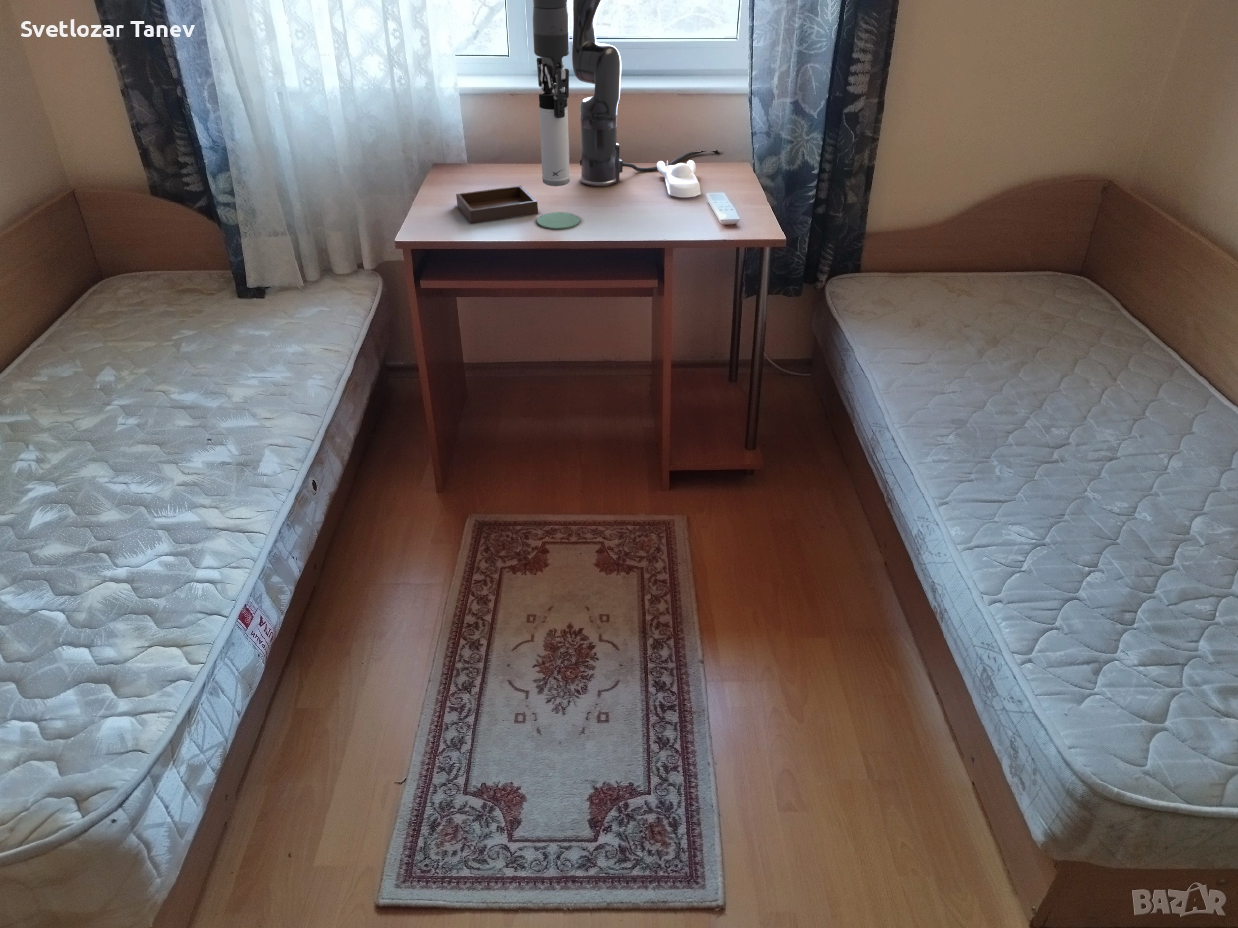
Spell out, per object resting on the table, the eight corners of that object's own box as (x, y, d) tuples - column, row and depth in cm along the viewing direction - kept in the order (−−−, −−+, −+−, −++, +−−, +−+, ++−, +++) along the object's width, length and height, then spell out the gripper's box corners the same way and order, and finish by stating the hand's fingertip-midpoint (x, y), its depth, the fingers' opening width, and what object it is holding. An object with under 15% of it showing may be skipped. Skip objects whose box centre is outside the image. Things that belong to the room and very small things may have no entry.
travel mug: (560, 188, 197) (557, 95, 185) (537, 183, 200) (532, 91, 188) (576, 181, 201) (574, 89, 190) (553, 176, 204) (549, 85, 192)
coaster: (570, 211, 212) (570, 210, 211) (585, 225, 204) (585, 224, 204) (531, 217, 208) (531, 215, 208) (545, 232, 201) (545, 230, 201)
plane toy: (665, 200, 218) (666, 177, 215) (656, 174, 234) (656, 152, 231) (706, 199, 219) (707, 176, 216) (694, 173, 235) (695, 151, 232)
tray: (521, 197, 220) (520, 185, 218) (538, 213, 210) (537, 201, 209) (457, 206, 214) (456, 194, 213) (471, 223, 205) (470, 211, 203)
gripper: (580, 35, 178) (581, 120, 188) (556, 23, 189) (558, 104, 198) (545, 38, 175) (549, 124, 185) (523, 25, 186) (527, 107, 196)
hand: (554, 113), depth 192 cm, fingers closed on travel mug, 6 cm apart
